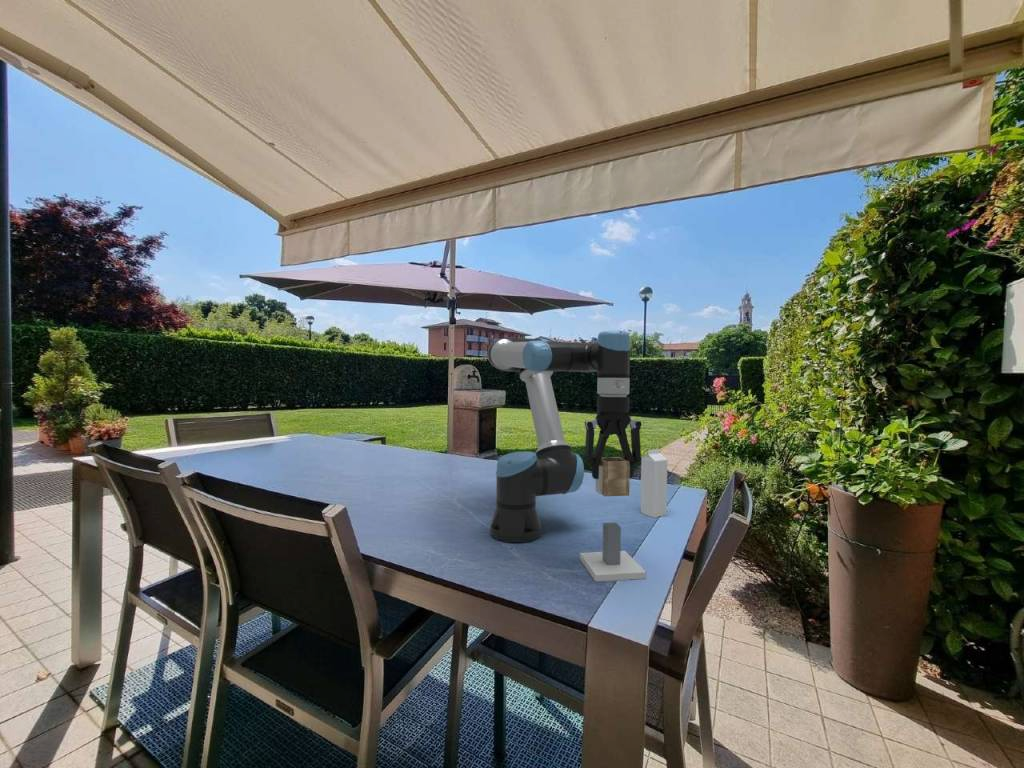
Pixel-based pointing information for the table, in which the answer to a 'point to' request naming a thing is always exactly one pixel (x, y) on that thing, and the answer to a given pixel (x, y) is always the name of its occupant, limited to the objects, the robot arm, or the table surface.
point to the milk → (654, 484)
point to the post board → (612, 570)
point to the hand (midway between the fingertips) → (612, 491)
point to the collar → (615, 476)
